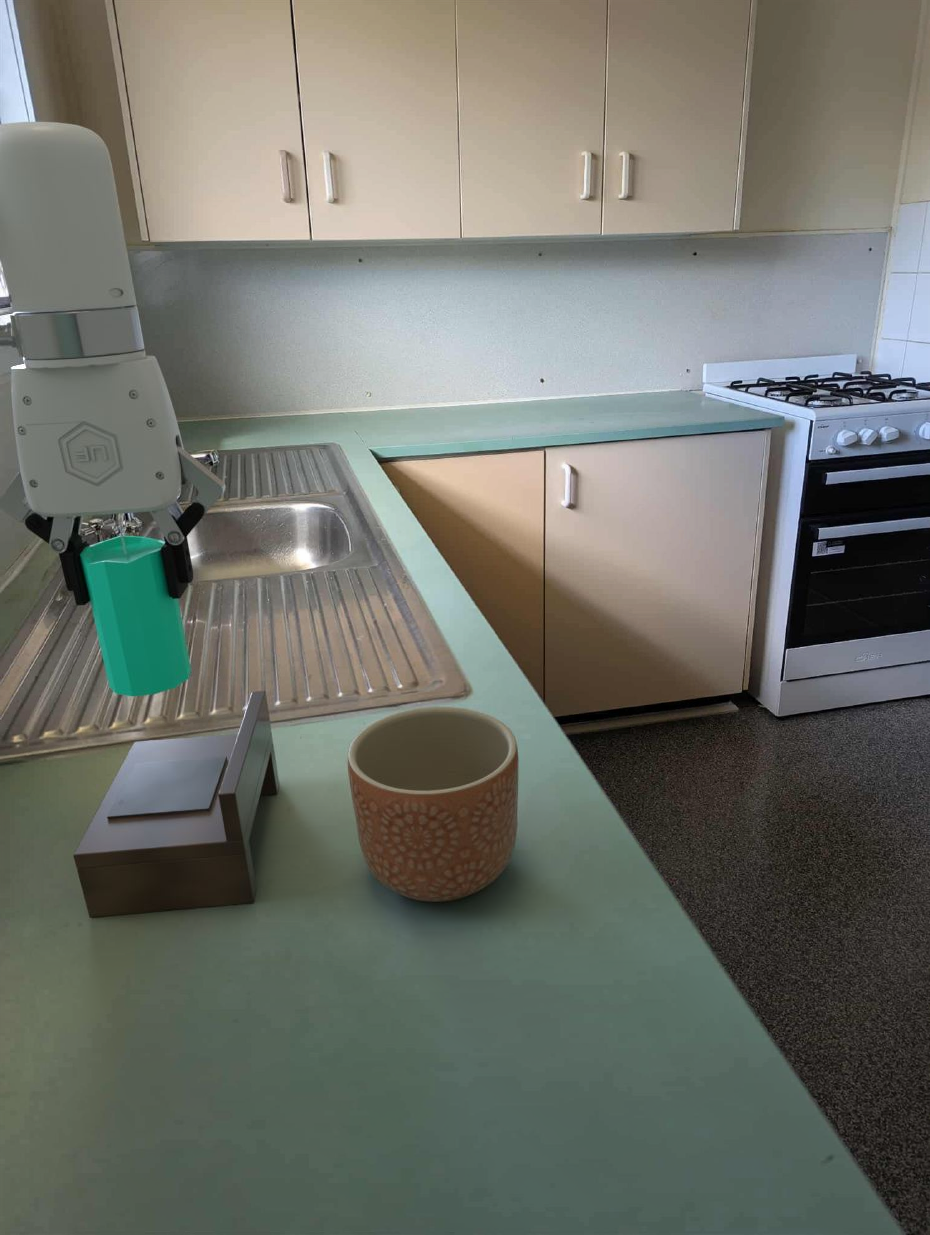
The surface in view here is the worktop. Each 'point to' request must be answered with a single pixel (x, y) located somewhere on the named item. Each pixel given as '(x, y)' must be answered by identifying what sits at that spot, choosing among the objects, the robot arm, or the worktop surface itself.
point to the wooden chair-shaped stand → (180, 822)
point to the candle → (135, 616)
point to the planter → (435, 800)
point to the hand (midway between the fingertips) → (133, 593)
